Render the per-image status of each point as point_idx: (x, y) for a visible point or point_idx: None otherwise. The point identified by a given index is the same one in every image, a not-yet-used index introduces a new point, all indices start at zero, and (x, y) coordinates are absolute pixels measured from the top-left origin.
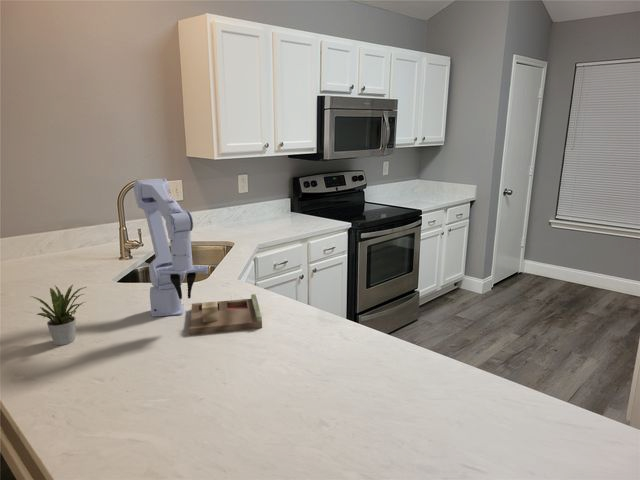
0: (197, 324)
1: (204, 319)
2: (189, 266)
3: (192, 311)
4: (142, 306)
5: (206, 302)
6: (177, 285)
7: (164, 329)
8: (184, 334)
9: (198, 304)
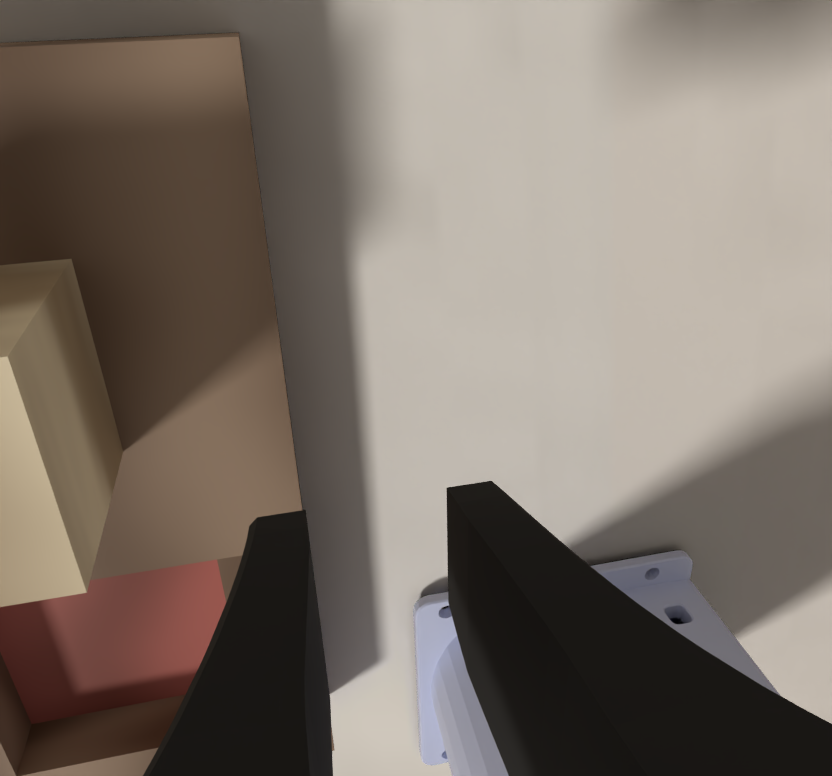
0: (137, 181)
1: (33, 276)
2: None
3: None
4: None
5: (4, 600)
6: (717, 747)
7: (568, 267)
8: (318, 71)
9: None
